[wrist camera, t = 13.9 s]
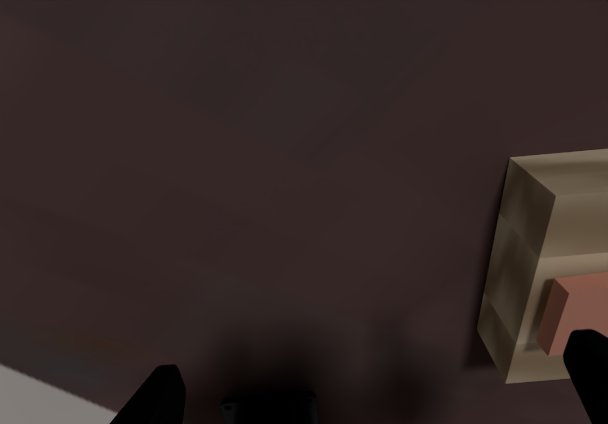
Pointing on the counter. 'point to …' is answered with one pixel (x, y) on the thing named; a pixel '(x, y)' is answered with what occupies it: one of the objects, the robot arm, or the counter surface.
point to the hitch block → (541, 253)
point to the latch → (574, 310)
